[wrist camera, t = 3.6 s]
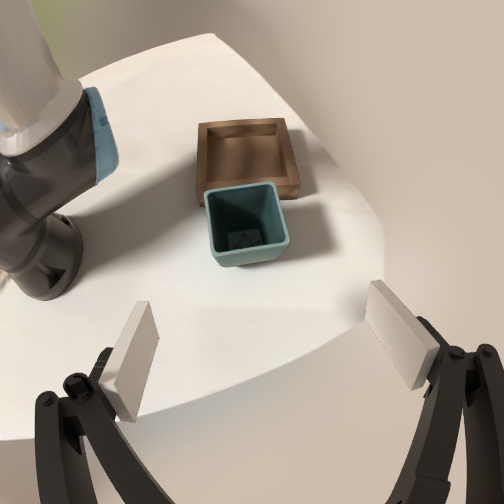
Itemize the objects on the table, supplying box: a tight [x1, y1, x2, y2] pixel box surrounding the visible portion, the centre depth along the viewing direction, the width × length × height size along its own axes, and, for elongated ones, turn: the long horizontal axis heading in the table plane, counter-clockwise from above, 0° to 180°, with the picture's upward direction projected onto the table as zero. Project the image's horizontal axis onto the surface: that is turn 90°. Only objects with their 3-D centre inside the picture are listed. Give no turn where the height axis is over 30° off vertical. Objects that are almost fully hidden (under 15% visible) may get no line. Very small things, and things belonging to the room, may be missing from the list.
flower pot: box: [204, 181, 290, 267], centre depth 37 cm, size 9×9×9 cm
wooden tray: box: [196, 118, 300, 206], centre depth 45 cm, size 15×15×4 cm
